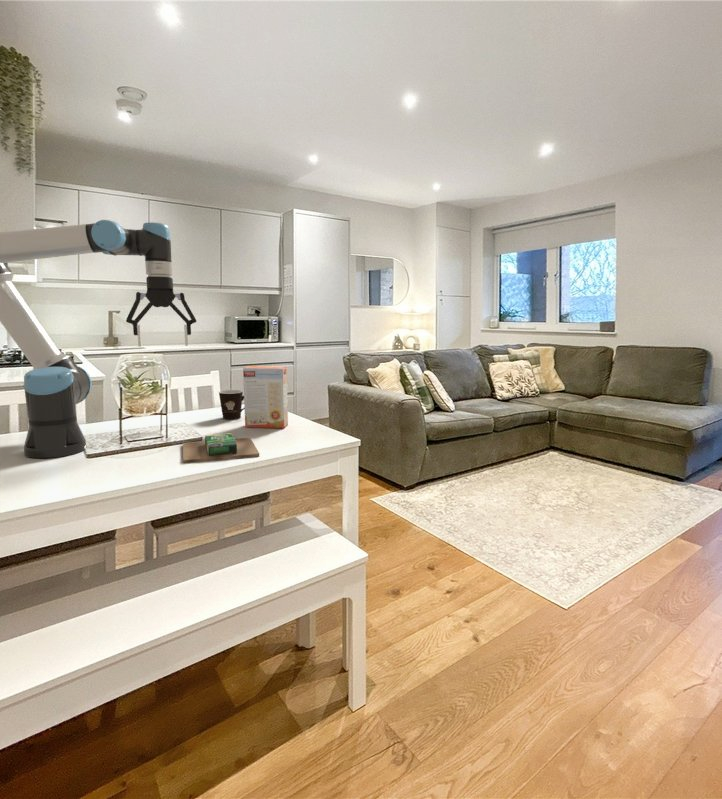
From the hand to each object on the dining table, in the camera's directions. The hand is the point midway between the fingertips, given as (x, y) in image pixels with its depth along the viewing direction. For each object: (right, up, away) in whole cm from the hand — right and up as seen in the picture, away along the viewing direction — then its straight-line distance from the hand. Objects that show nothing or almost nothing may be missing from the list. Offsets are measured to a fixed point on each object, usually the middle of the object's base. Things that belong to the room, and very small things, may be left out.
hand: (163, 345), depth 156 cm
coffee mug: (+15, -24, +30) cm, 41 cm away
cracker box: (+29, -26, +18) cm, 43 cm away
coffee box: (+24, -31, -19) cm, 44 cm away
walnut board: (+21, -32, -12) cm, 40 cm away
